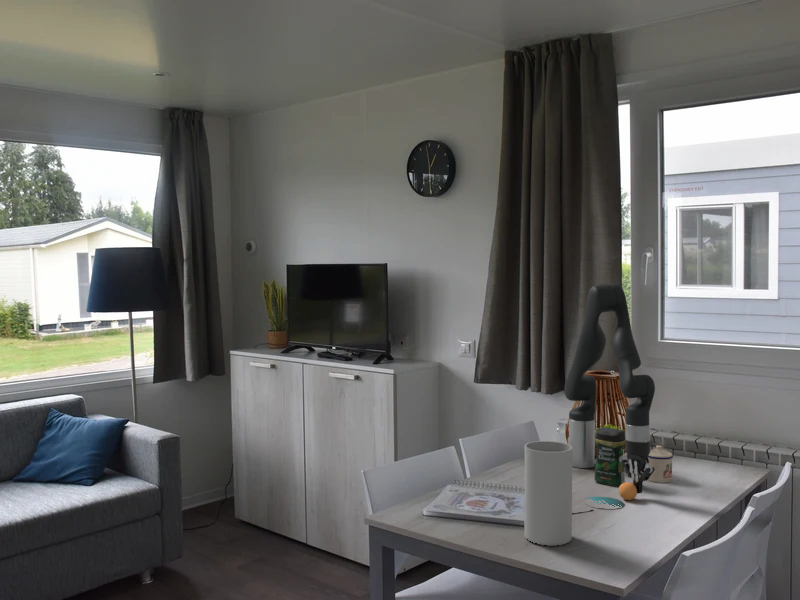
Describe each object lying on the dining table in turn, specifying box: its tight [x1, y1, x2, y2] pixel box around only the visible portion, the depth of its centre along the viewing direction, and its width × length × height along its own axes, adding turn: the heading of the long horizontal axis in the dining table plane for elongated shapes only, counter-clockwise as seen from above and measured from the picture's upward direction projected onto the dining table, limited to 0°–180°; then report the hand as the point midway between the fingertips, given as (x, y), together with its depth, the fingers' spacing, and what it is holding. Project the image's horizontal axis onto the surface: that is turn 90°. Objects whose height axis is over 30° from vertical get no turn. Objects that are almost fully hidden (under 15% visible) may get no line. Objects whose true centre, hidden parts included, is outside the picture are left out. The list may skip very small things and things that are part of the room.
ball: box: [618, 481, 638, 501], centre depth 232 cm, size 6×6×6 cm
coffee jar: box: [594, 426, 626, 487], centre depth 250 cm, size 10×8×19 cm
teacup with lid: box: [647, 445, 674, 484], centre depth 255 cm, size 12×9×12 cm
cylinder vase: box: [523, 440, 573, 547], centre depth 198 cm, size 12×12×25 cm
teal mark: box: [586, 496, 625, 507], centre depth 228 cm, size 12×12×1 cm
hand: (637, 492), depth 233 cm, fingers closed
